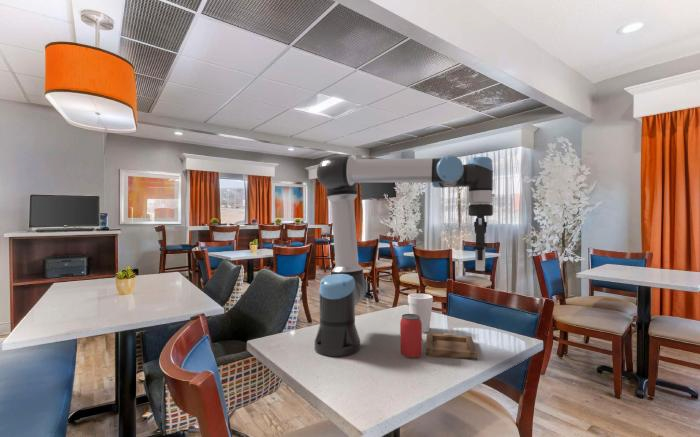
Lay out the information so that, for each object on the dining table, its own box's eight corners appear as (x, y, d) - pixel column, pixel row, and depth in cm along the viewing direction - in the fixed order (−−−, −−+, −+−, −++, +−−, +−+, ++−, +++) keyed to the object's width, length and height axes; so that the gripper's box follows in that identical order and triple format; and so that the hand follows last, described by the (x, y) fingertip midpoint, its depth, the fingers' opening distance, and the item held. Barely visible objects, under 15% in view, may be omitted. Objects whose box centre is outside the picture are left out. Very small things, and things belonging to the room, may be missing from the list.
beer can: (424, 353, 103) (424, 315, 103) (417, 360, 97) (417, 320, 98) (405, 349, 106) (405, 312, 107) (397, 356, 101) (396, 317, 101)
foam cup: (438, 332, 123) (437, 297, 123) (417, 335, 120) (416, 299, 120) (423, 324, 132) (423, 292, 132) (403, 327, 128) (403, 294, 129)
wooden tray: (425, 355, 101) (425, 348, 101) (426, 337, 117) (426, 331, 117) (477, 360, 98) (477, 353, 98) (471, 340, 114) (470, 334, 114)
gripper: (493, 201, 96) (493, 273, 95) (492, 205, 119) (492, 264, 118) (466, 202, 99) (466, 272, 98) (470, 206, 122) (470, 263, 121)
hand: (480, 268), depth 108 cm, fingers open, 13 cm apart
